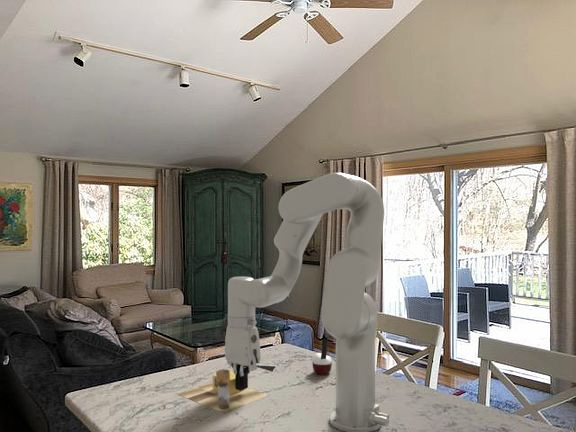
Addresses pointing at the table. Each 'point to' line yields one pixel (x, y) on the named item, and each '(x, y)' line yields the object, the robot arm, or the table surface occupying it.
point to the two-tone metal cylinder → (223, 388)
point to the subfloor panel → (210, 397)
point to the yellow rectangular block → (231, 385)
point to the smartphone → (267, 367)
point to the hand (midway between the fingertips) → (241, 388)
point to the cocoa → (322, 360)
